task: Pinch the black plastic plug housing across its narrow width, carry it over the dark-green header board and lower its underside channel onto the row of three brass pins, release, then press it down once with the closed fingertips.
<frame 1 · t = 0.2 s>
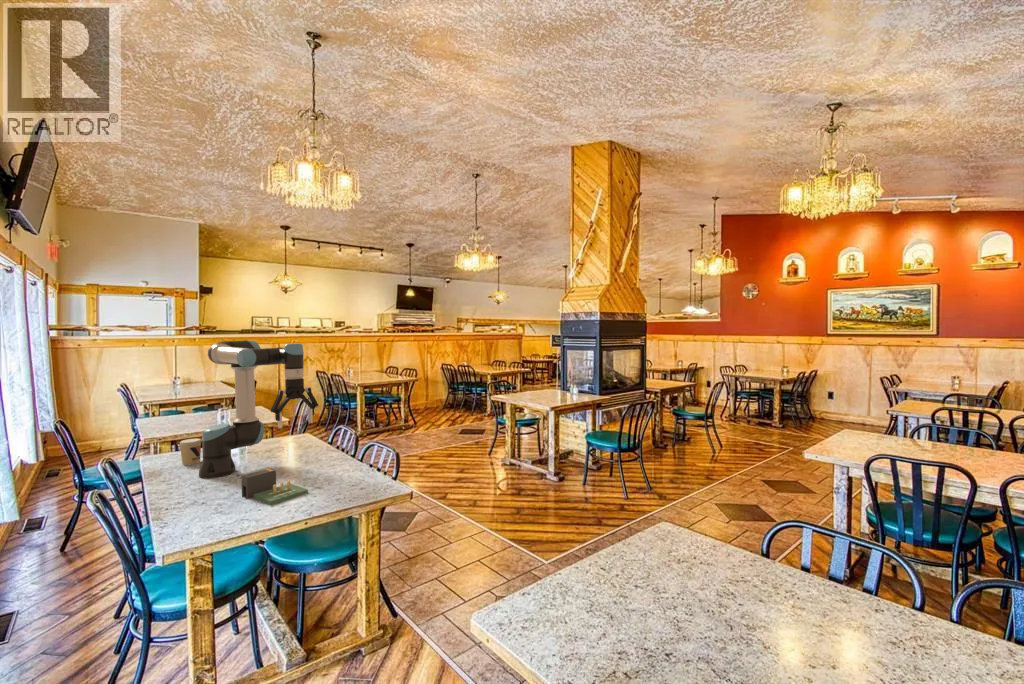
hand: (295, 425, 204), 27 cm above the table, fingers open, 13 cm apart
header board: (280, 495, 193), on the table
plug housing: (259, 493, 196), on the table
coffee cup: (191, 463, 241), on the table
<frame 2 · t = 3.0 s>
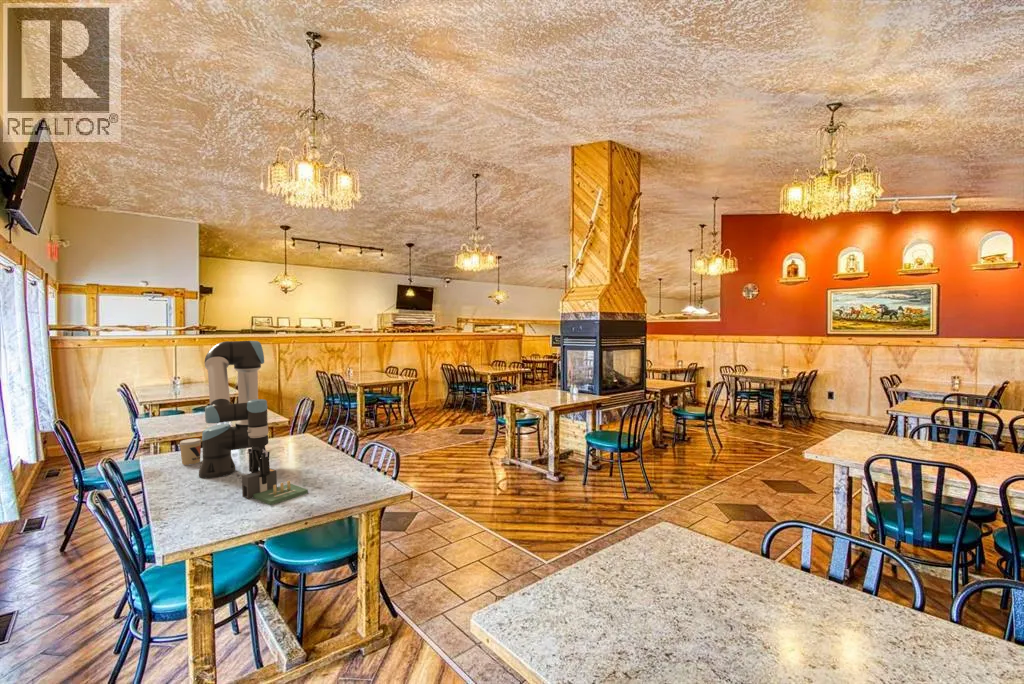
hand: (260, 489, 195), 2 cm above the table, fingers open, 5 cm apart
plug housing: (260, 493, 195), on the table, touching gripper, header board
everything else where it was.
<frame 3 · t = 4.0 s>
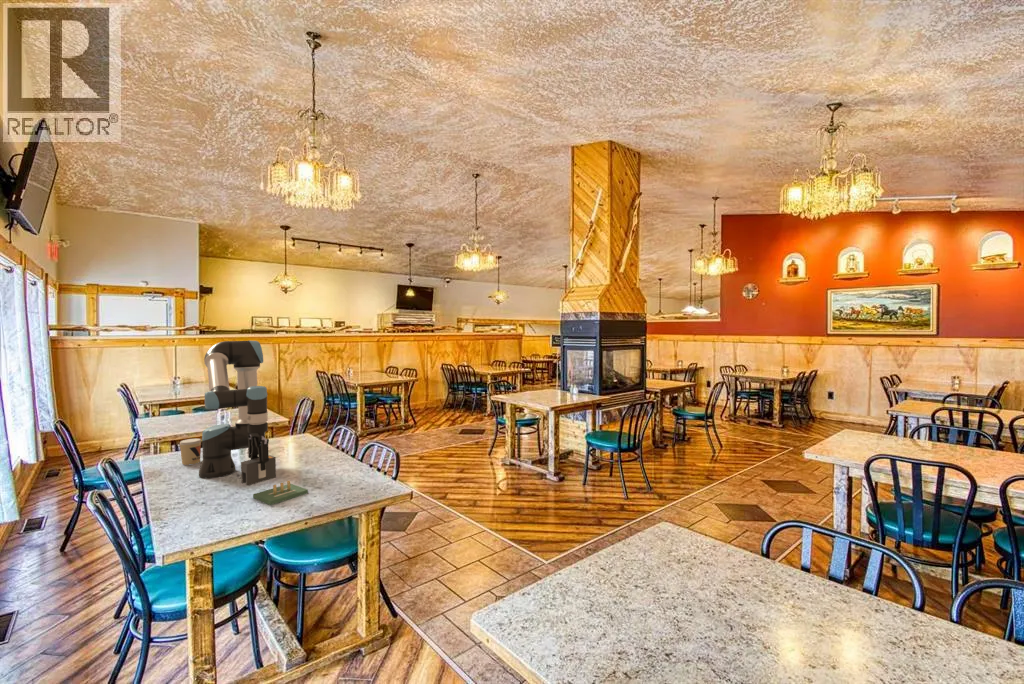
hand: (258, 476, 196), 7 cm above the table, fingers closed on plug housing, 5 cm apart
plug housing: (259, 480, 196), point 6 cm above the table, touching gripper
everything else where it was.
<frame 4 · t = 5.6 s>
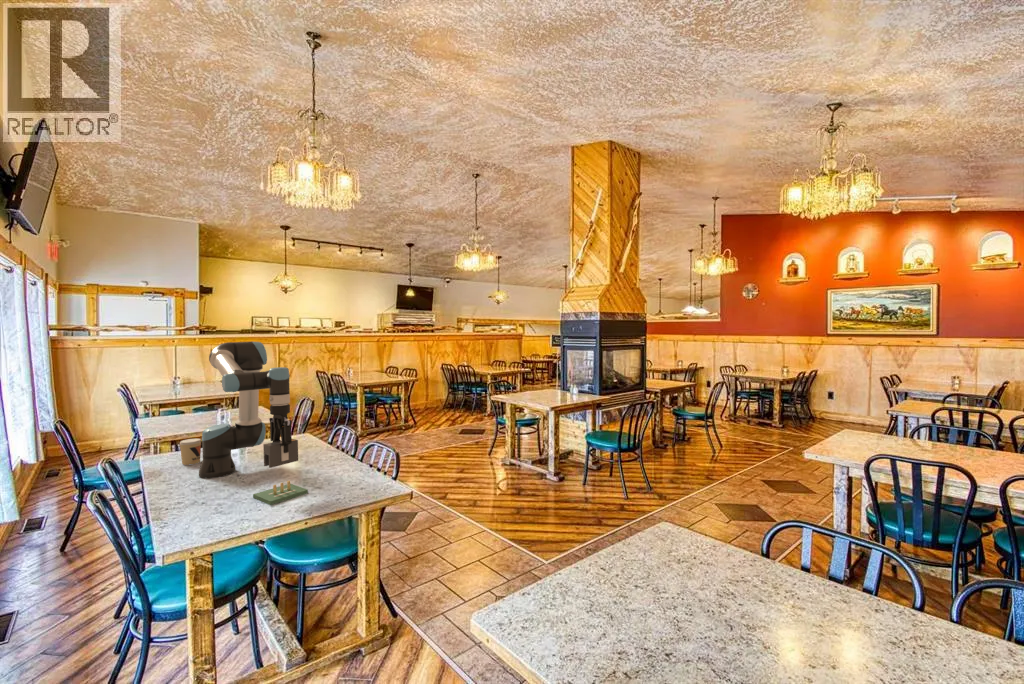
hand: (281, 459, 192), 16 cm above the table, fingers closed on plug housing, 5 cm apart
plug housing: (281, 463, 192), point 14 cm above the table, touching gripper
everything else where it was.
when the fingers open (4 cm above the table, at t = 7.4 s): plug housing stays where it is, resting on header board.
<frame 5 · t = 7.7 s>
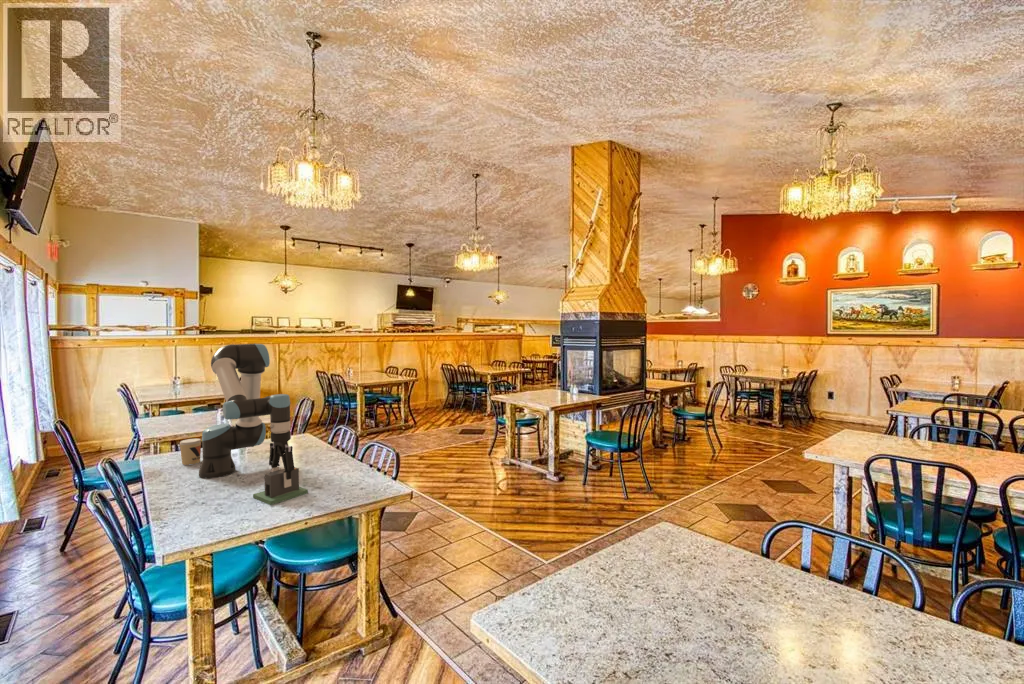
hand: (281, 484, 192), 5 cm above the table, fingers open, 8 cm apart
plug housing: (282, 492, 192), point 2 cm above the table, touching header board
everything else where it was.
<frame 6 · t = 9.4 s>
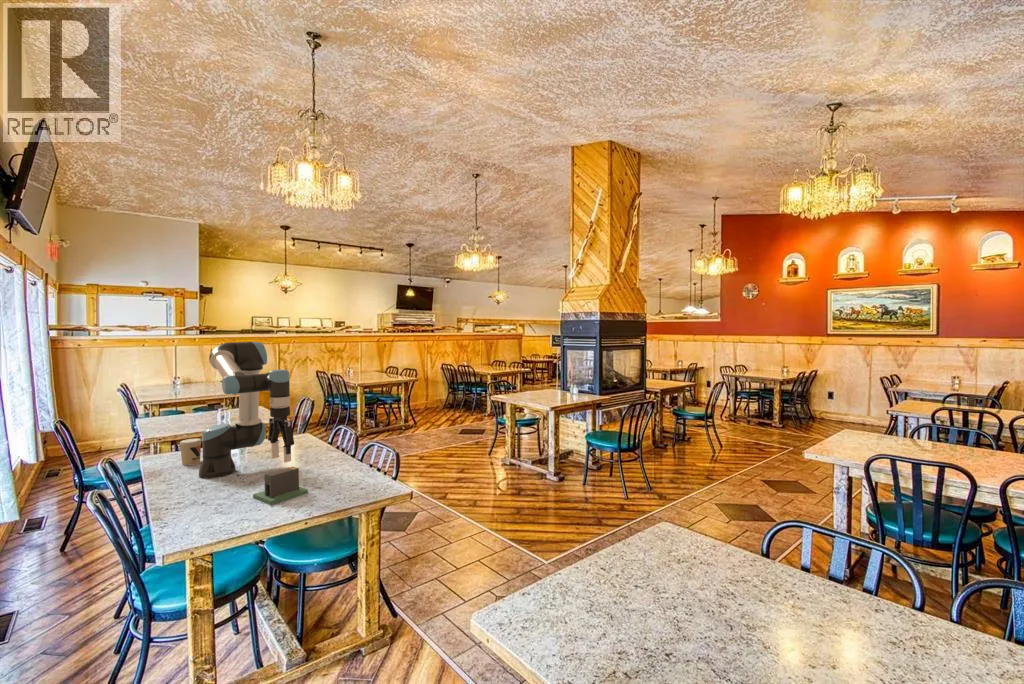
hand: (281, 459, 192), 15 cm above the table, fingers open, 9 cm apart
nothing on the table moved.
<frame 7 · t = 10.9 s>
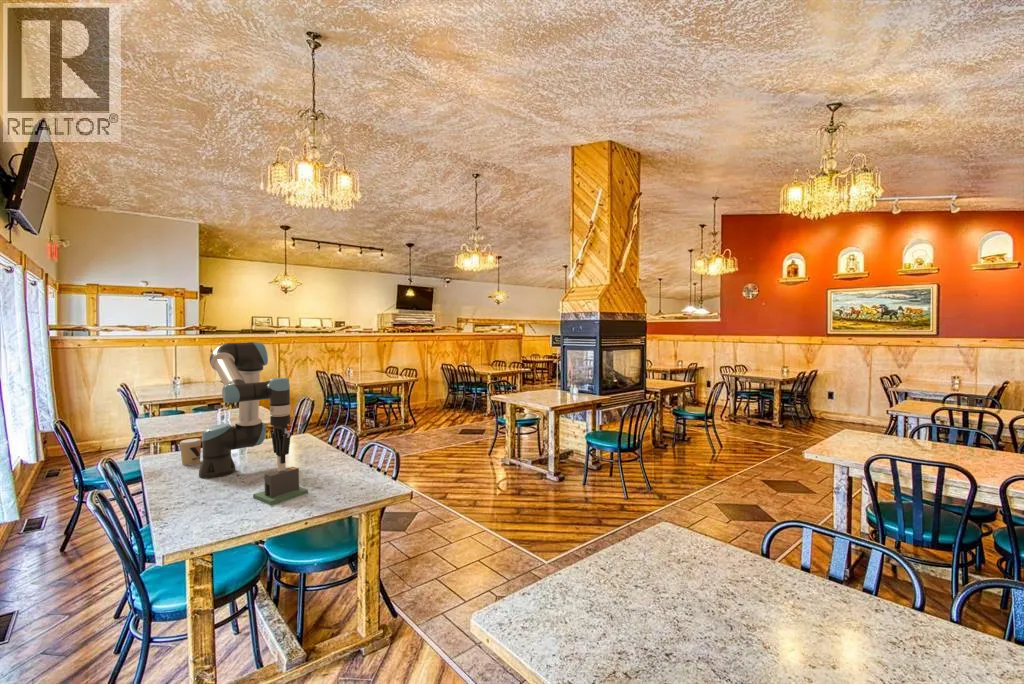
hand: (281, 470, 192), 11 cm above the table, fingers closed
plug housing: (282, 492, 192), point 2 cm above the table, touching gripper, header board
everything else where it was.
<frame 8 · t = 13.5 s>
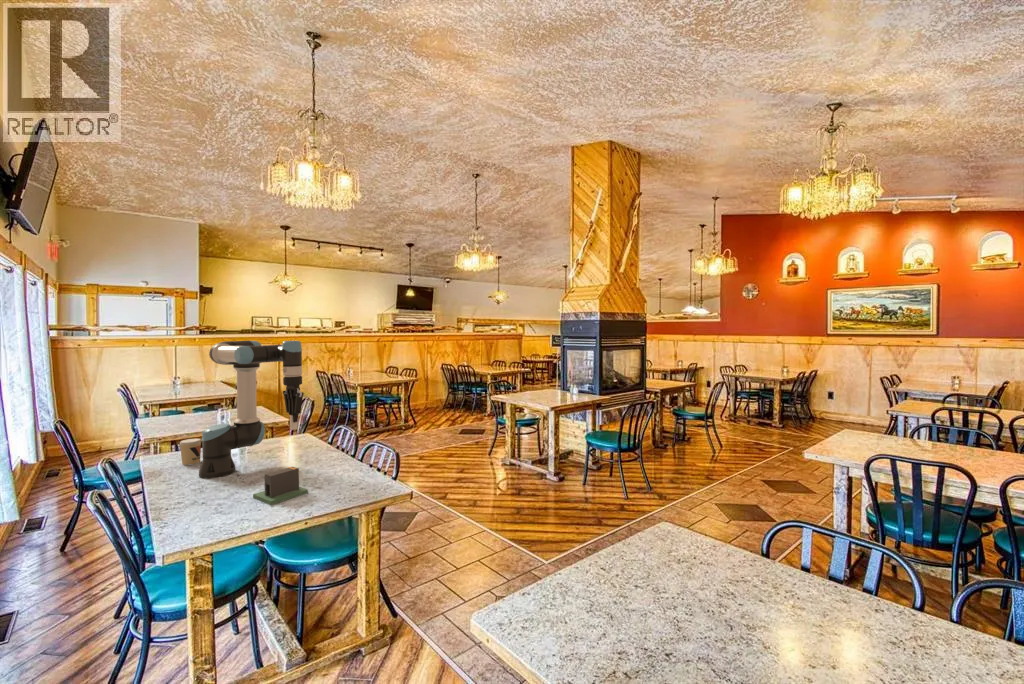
hand: (293, 429, 201), 26 cm above the table, fingers closed
plug housing: (282, 492, 192), point 2 cm above the table, touching header board
everything else where it was.
at the end: plug housing 0.2 cm from the target spot on the header board, point 1.6 cm above the header board's base; plug housing tilted 0°; the gripper is holding nothing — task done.
